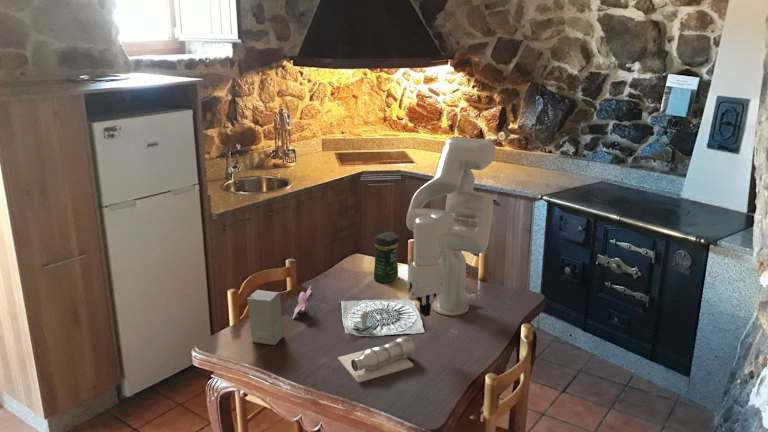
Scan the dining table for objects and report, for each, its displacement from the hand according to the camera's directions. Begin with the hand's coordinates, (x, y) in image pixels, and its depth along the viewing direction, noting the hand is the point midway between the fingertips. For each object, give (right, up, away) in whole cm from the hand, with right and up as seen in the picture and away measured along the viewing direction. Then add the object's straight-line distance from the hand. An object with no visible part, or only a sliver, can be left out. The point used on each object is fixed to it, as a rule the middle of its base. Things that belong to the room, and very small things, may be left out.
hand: (425, 314), depth 185 cm
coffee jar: (-12, +5, +55) cm, 56 cm away
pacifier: (-20, -7, +17) cm, 27 cm away
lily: (-40, -4, +26) cm, 48 cm away
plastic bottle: (-4, -9, -2) cm, 10 cm away
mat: (-15, -14, -4) cm, 21 cm away
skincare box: (-49, -10, +9) cm, 51 cm away
